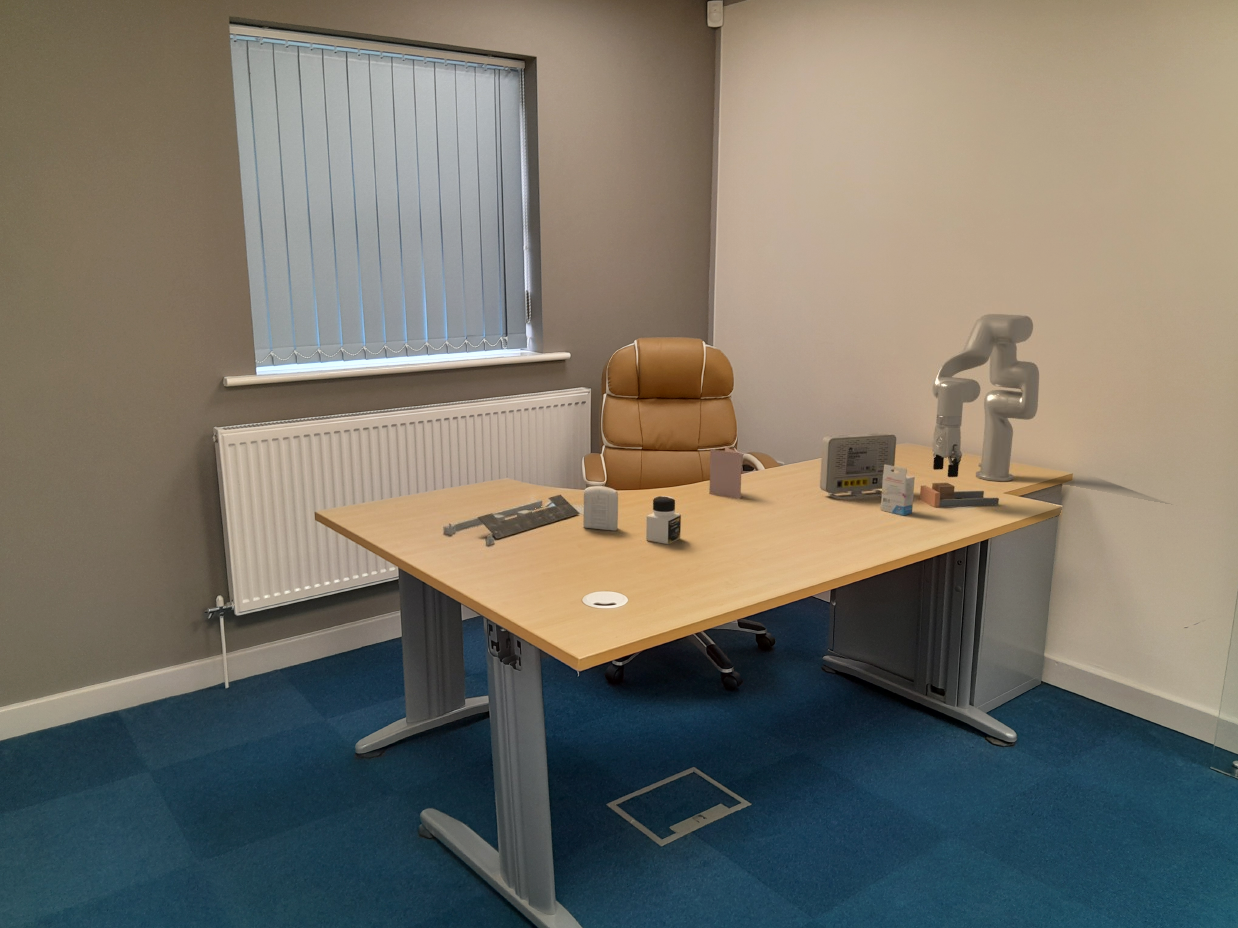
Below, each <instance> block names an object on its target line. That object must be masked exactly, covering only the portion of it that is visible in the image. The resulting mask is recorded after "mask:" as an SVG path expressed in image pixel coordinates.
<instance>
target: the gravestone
mask: <svg viewBox="0 0 1238 928" xmlns="http://www.w3.org/2000/svg"><path fill="white" fill-rule="evenodd" d="M583 506H584V515H583V523H582V524H583V528H585V529H586V528H588V529H594V530H595V529H597V530H603V531H604V530H605V531H617V530H618V524H619V521H618V520H619V493H618V491H617V490H616V489H614V488H611V487H608V486H604V485H602V486H601V485H598V486H597V485H596V486H589V487H586V488H585V489H584V492H583Z"/></svg>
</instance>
